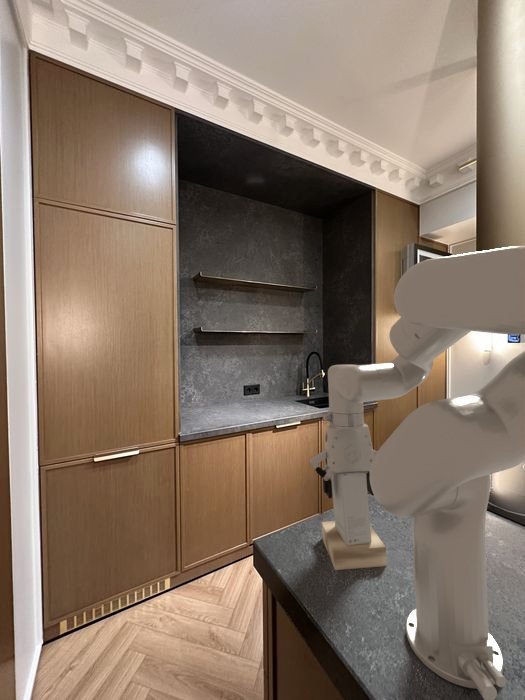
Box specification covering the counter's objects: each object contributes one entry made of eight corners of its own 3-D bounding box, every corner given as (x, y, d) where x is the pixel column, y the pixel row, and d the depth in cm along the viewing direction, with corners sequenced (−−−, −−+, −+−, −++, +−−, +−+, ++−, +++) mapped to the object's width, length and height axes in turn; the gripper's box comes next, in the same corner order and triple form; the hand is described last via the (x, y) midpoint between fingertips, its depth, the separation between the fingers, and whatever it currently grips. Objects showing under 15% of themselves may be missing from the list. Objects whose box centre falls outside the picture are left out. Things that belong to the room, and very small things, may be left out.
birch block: (386, 566, 66) (385, 547, 66) (334, 570, 65) (334, 550, 65) (366, 535, 77) (365, 518, 77) (322, 538, 76) (321, 521, 76)
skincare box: (372, 544, 67) (369, 474, 67) (344, 546, 66) (341, 476, 66) (356, 522, 75) (354, 461, 75) (332, 525, 75) (329, 462, 75)
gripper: (312, 424, 67) (315, 505, 67) (391, 420, 68) (394, 499, 68) (305, 417, 74) (308, 489, 74) (377, 413, 75) (380, 485, 75)
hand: (349, 494), depth 71 cm, fingers open, 9 cm apart
